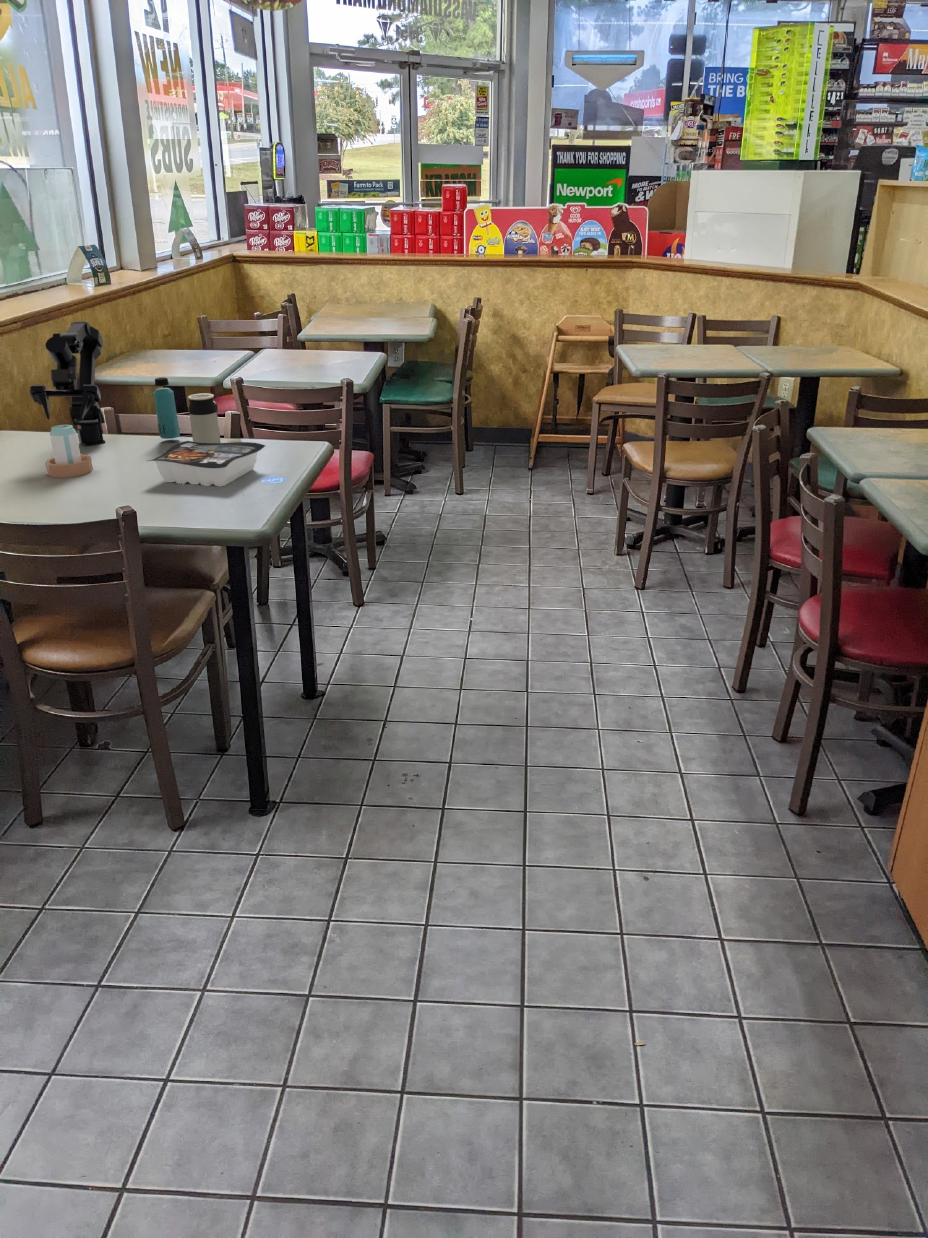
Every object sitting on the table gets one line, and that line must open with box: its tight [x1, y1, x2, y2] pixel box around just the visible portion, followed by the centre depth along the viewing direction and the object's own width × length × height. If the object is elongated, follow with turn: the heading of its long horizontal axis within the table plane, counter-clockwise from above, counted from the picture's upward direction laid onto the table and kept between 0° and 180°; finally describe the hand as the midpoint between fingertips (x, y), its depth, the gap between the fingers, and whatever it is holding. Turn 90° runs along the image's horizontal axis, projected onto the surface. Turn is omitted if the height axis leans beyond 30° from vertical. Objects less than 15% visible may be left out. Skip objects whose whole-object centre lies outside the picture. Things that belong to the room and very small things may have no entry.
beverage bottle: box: [152, 376, 181, 440], centre depth 309 cm, size 6×7×20 cm
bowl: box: [44, 453, 94, 479], centre depth 283 cm, size 12×12×4 cm
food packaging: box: [147, 440, 267, 487], centre depth 275 cm, size 25×8×23 cm
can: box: [49, 424, 82, 465], centre depth 281 cm, size 7×7×12 cm
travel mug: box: [187, 392, 222, 443], centre depth 292 cm, size 8×8×18 cm
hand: (64, 418), depth 285 cm, fingers open, 9 cm apart
